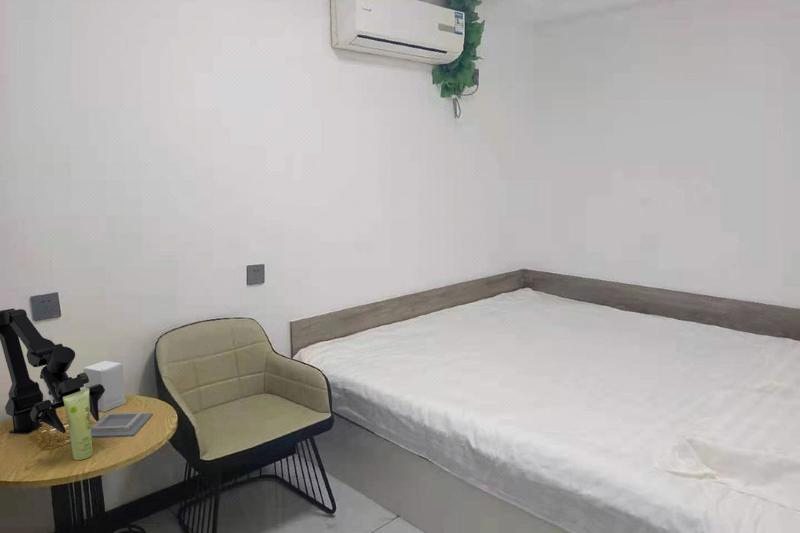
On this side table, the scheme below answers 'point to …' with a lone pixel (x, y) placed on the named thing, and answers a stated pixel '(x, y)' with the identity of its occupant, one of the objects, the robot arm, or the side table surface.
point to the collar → (103, 429)
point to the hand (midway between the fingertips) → (81, 426)
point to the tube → (79, 423)
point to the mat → (122, 423)
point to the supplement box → (107, 383)
